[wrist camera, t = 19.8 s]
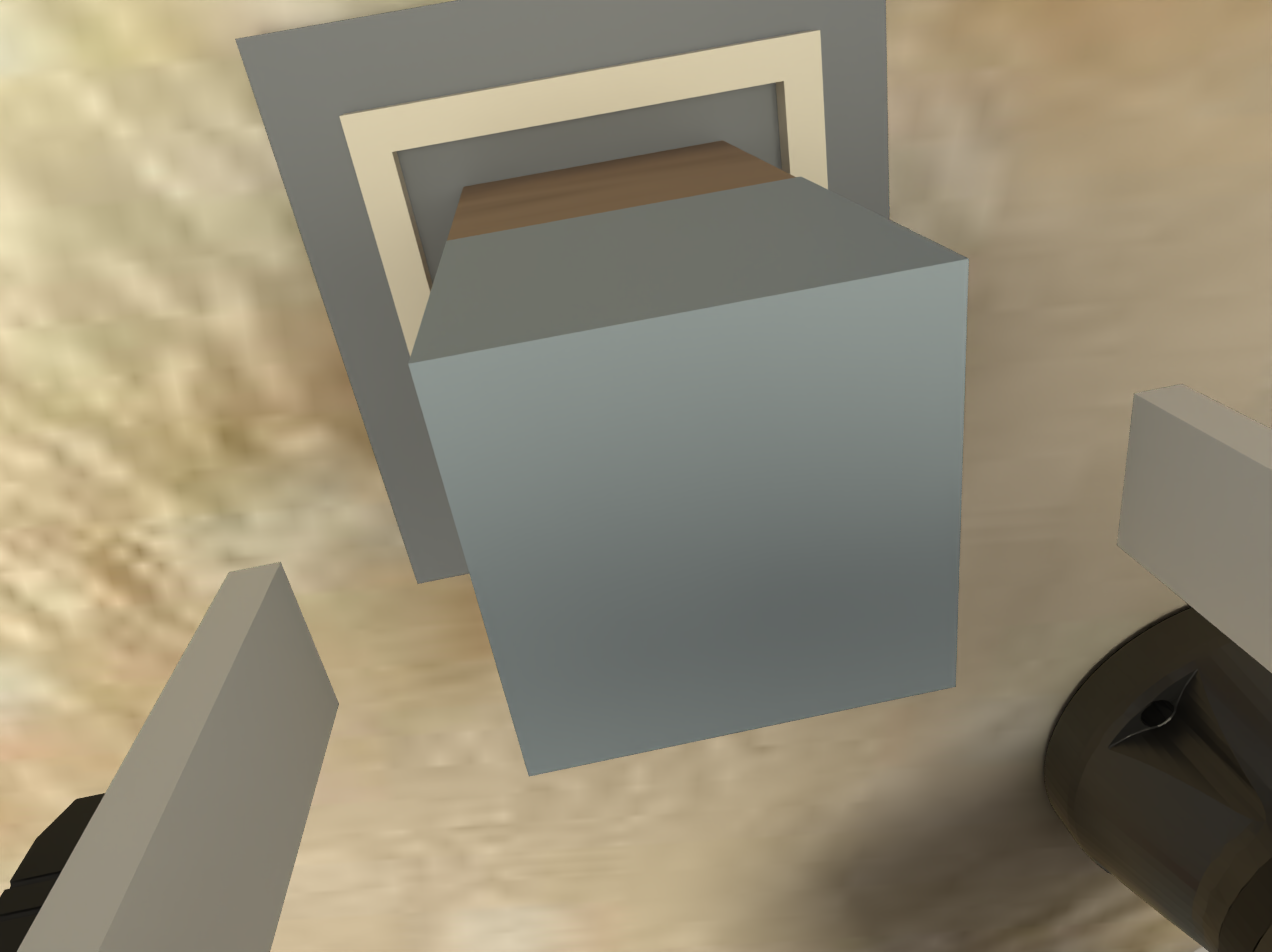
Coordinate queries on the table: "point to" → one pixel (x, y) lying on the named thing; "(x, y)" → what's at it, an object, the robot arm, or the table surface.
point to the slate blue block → (702, 463)
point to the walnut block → (607, 187)
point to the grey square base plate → (530, 150)
